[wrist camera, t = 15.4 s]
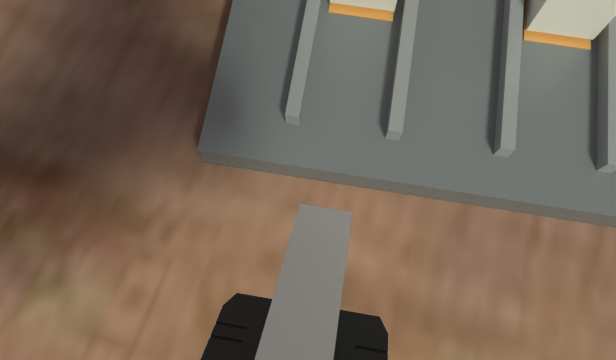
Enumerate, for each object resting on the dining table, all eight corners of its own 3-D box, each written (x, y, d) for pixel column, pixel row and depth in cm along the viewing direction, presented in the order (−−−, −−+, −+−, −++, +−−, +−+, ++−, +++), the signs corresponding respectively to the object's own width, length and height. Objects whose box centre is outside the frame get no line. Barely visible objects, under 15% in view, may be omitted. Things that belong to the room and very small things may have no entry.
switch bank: (667, 2, 36) (700, -30, 33) (674, 236, 32) (713, 224, 29) (254, -55, 38) (249, -91, 35) (203, 161, 33) (192, 143, 30)
